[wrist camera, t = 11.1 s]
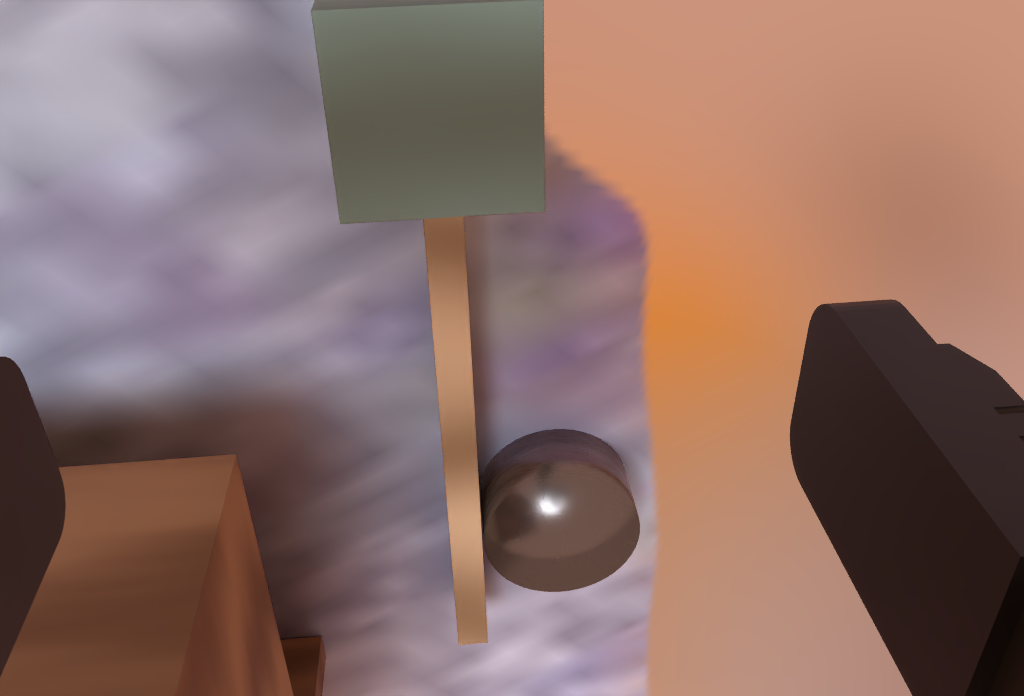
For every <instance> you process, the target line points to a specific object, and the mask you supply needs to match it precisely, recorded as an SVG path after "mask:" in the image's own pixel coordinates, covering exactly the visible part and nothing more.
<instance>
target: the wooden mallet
mask: <svg viewBox="0 0 1024 696" xmlns="http://www.w3.org/2000/svg"><path fill="white" fill-rule="evenodd" d="M543 2H544V0H315V2H314V4H313V7H312V10H311V14H312V21H313V28H314V35H315V43H316V50H317V57H318V65H319V72H320V79H321V86H322V94H323V101H324V108H325V116H326V123H327V130H328V137H329V145H330V152H331V159H332V167H333V174H334V181H335V188H336V196H337V203H338V210H339V218H340V224H348V223H365V222H381V221H397V220H414V219H423V223H424V235H425V247H426V258H427V270H428V282H429V294H430V306H431V318H432V330H433V342H434V354H435V366H436V378H437V390H438V402H439V414H440V426H441V438H442V450H443V462H444V474H445V486H446V498H447V510H448V522H449V534H450V546H451V558H452V570H453V582H454V594H455V606H456V618H457V630H458V641H459V645H465V644H476V643H487V642H488V635H487V617H486V600H485V583H484V565H483V548H482V531H481V513H480V496H479V478H478V461H477V444H476V426H475V409H474V392H473V374H472V357H471V340H470V322H469V305H468V288H467V270H466V253H465V236H464V218H463V216H479V215H496V214H512V213H529V212H545V179H544V8H543V6H544V3H543Z"/></svg>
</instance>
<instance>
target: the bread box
mask: <svg viewBox="0 0 1024 696" xmlns="http://www.w3.org/2000/svg"><path fill="white" fill-rule="evenodd" d="M58 468H59V471H60V473H61V477H62V480H63V484H64V490H65V501H66V510H65V521H64V527H63V531H62V535H61V538H60V541H59V543H58V545H57V548H56V550H55V552H54V554H53V557H52V559H51V561H50V564H49V566H48V568H47V571H46V573H45V575H44V578H43V580H42V582H41V584H40V587H39V589H38V591H37V594H36V596H35V598H34V601H33V603H32V605H31V607H30V610H29V612H28V614H27V617H26V619H25V621H24V624H23V626H22V628H21V631H20V633H19V635H18V637H17V640H16V642H15V644H14V647H13V649H12V651H11V654H10V656H9V658H8V660H7V663H6V665H5V667H4V670H3V672H2V674H1V677H0V696H322V689H323V679H324V669H325V658H326V657H325V652H324V647H323V642H322V637H321V636H318V637H306V638H294V639H283V640H280V637H279V632H278V628H277V624H276V620H275V615H274V611H273V607H272V603H271V599H270V594H269V590H268V586H267V582H266V578H265V573H264V569H263V565H262V561H261V557H260V552H259V548H258V544H257V540H256V535H255V531H254V527H253V523H252V519H251V514H250V510H249V506H248V502H247V498H246V493H245V489H244V485H243V481H242V477H241V472H240V468H239V464H238V460H237V455H236V454H233V455H219V456H206V457H192V458H178V459H165V460H151V461H137V462H124V463H110V464H96V465H83V466H69V467H58Z"/></svg>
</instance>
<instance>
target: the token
mask: <svg viewBox="0 0 1024 696" xmlns="http://www.w3.org/2000/svg"><path fill="white" fill-rule="evenodd" d="M480 499H481V510H482V521H483V533H484V544H485V551H486V554H487V557H488V559H489V561H490V563H491V564H492V566H493V567H494V568H495V570H497V571H498V572H499V573H500V574H501V575H502V576H503V577H505V578H506V579H507V580H509V581H511V582H513V583H515V584H517V585H519V586H522V587H525V588H528V589H532V590H538V591H548V592H560V591H569V590H574V589H579V588H583V587H586V586H589V585H592V584H594V583H597V582H599V581H601V580H603V579H604V578H606V577H608V576H609V575H611V574H612V573H614V572H615V571H616V570H618V569H619V568H620V567H621V566H622V565H623V564H624V563H625V562H626V561H627V560H628V558H629V557H630V556H631V554H632V553H633V551H634V549H635V547H636V544H637V542H638V539H639V533H640V523H639V517H638V514H637V510H636V507H635V503H634V500H633V496H632V493H631V490H630V486H629V483H628V479H627V476H626V472H625V469H624V466H623V463H622V461H621V459H620V458H619V456H618V454H617V453H616V452H615V451H614V450H613V449H612V448H611V447H610V446H609V445H608V444H607V443H605V442H604V441H602V440H601V439H599V438H597V437H595V436H593V435H590V434H587V433H584V432H580V431H575V430H567V429H554V430H545V431H540V432H535V433H532V434H529V435H526V436H524V437H522V438H519V439H517V440H515V441H514V442H512V443H510V444H508V445H507V446H506V447H504V448H503V449H502V450H501V451H500V452H498V453H497V454H496V455H495V456H494V458H493V459H492V460H491V461H490V463H489V464H488V466H487V468H486V469H485V471H484V474H483V476H482V480H481V484H480Z"/></svg>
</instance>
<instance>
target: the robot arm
mask: <svg viewBox="0 0 1024 696" xmlns="http://www.w3.org/2000/svg"><path fill="white" fill-rule="evenodd" d="M790 446H791V455H792V460H793V465H794V468H795V472H796V475H797V478H798V480H799V482H800V484H801V486H802V488H803V490H804V492H805V494H806V496H807V497H808V500H809V501H810V503H811V505H812V507H813V509H814V511H815V513H816V515H817V516H818V518H819V520H820V522H821V524H822V526H823V528H824V530H825V531H826V533H827V535H828V537H829V539H830V541H831V543H832V544H833V546H834V548H835V550H836V552H837V554H838V556H839V558H840V560H841V562H842V564H843V566H844V567H845V569H846V571H847V573H848V575H849V577H850V578H851V581H852V582H853V584H854V586H855V588H856V590H857V592H858V594H859V596H860V598H861V599H862V601H863V603H864V605H865V607H866V609H867V611H868V613H869V614H870V616H871V618H872V620H873V622H874V624H875V626H876V627H877V630H878V631H879V633H880V635H881V637H882V639H883V641H884V643H885V644H886V647H887V648H888V650H889V652H890V654H891V656H892V658H893V660H894V662H895V664H896V665H897V667H898V669H899V671H900V673H901V675H902V677H903V678H904V681H905V682H906V684H907V686H908V688H909V690H910V692H911V694H912V696H1024V400H1023V399H1022V398H1021V397H1020V396H1019V395H1018V394H1017V393H1016V392H1015V391H1014V390H1013V389H1012V388H1011V387H1010V385H1009V384H1008V383H1007V382H1006V381H1005V380H1004V379H1003V378H1002V377H1001V376H1000V375H999V374H998V373H997V372H996V371H995V370H993V369H992V368H990V367H988V366H987V365H985V364H983V363H982V362H980V361H978V360H976V359H975V358H973V357H971V356H970V355H968V354H966V353H965V352H963V351H961V350H959V349H958V348H956V347H954V346H952V345H951V344H937V343H936V342H935V341H934V340H933V339H932V338H931V336H930V335H929V334H928V333H927V332H926V331H925V330H924V329H923V327H922V326H921V325H920V324H919V323H918V322H917V321H916V319H915V318H914V317H913V316H912V315H911V314H910V313H909V312H908V310H907V309H906V308H905V307H904V306H903V305H902V304H901V303H900V302H898V301H896V300H877V301H862V302H848V303H832V304H823V305H820V306H818V307H817V308H816V310H815V311H814V313H813V315H812V317H811V320H810V324H809V328H808V334H807V339H806V344H805V349H804V355H803V360H802V365H801V371H800V377H799V381H798V387H797V392H796V398H795V403H794V409H793V414H792V419H791V426H790ZM65 510H66V501H65V490H64V484H63V480H62V477H61V473H60V471H59V468H58V465H57V463H56V460H55V457H54V455H53V452H52V449H51V447H50V444H49V442H48V439H47V436H46V434H45V431H44V428H43V426H42V423H41V420H40V418H39V415H38V412H37V410H36V407H35V405H34V402H33V399H32V397H31V394H30V391H29V389H28V386H27V383H26V381H25V378H24V376H23V374H22V372H21V370H20V368H19V367H18V366H17V364H16V363H15V362H14V361H13V360H11V359H10V358H7V357H0V677H1V674H2V672H3V670H4V667H5V665H6V663H7V660H8V658H9V656H10V654H11V651H12V649H13V647H14V644H15V642H16V640H17V637H18V635H19V633H20V631H21V628H22V626H23V624H24V621H25V619H26V617H27V614H28V612H29V610H30V607H31V605H32V603H33V601H34V598H35V596H36V594H37V591H38V589H39V587H40V584H41V582H42V580H43V578H44V575H45V573H46V571H47V568H48V566H49V564H50V561H51V559H52V557H53V554H54V552H55V550H56V548H57V545H58V543H59V541H60V538H61V535H62V531H63V527H64V521H65Z"/></svg>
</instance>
